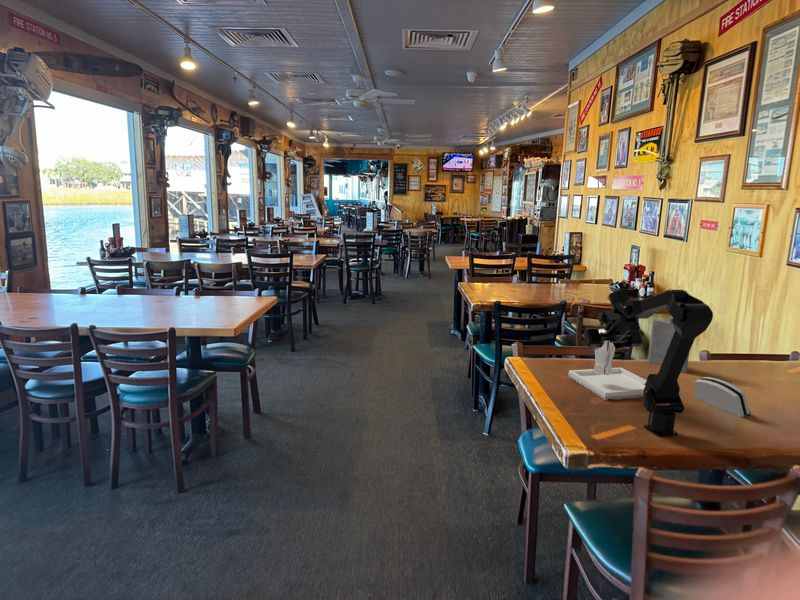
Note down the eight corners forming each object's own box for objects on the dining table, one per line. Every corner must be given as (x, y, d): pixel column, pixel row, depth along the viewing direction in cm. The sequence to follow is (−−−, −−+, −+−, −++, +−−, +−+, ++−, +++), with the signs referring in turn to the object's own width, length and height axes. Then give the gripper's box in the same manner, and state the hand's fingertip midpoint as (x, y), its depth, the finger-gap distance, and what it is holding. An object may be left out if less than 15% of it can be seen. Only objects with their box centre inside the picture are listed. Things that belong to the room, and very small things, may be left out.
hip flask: (645, 361, 208) (652, 313, 204) (652, 359, 210) (658, 312, 206) (683, 373, 194) (690, 322, 190) (689, 371, 196) (697, 321, 192)
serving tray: (662, 395, 171) (663, 388, 170) (604, 400, 166) (605, 392, 165) (620, 373, 192) (621, 367, 191) (568, 377, 187) (568, 370, 186)
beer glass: (587, 370, 178) (591, 329, 175) (601, 368, 182) (605, 327, 179) (603, 377, 172) (607, 334, 169) (617, 374, 176) (621, 332, 173)
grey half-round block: (753, 415, 157) (750, 387, 154) (742, 422, 156) (739, 394, 153) (704, 395, 172) (701, 370, 169) (694, 401, 171) (690, 375, 168)
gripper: (642, 305, 169) (621, 329, 182) (588, 304, 167) (571, 329, 180) (653, 333, 163) (630, 356, 176) (597, 334, 161) (579, 357, 174)
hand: (602, 348), depth 177 cm, fingers closed on beer glass, 7 cm apart
